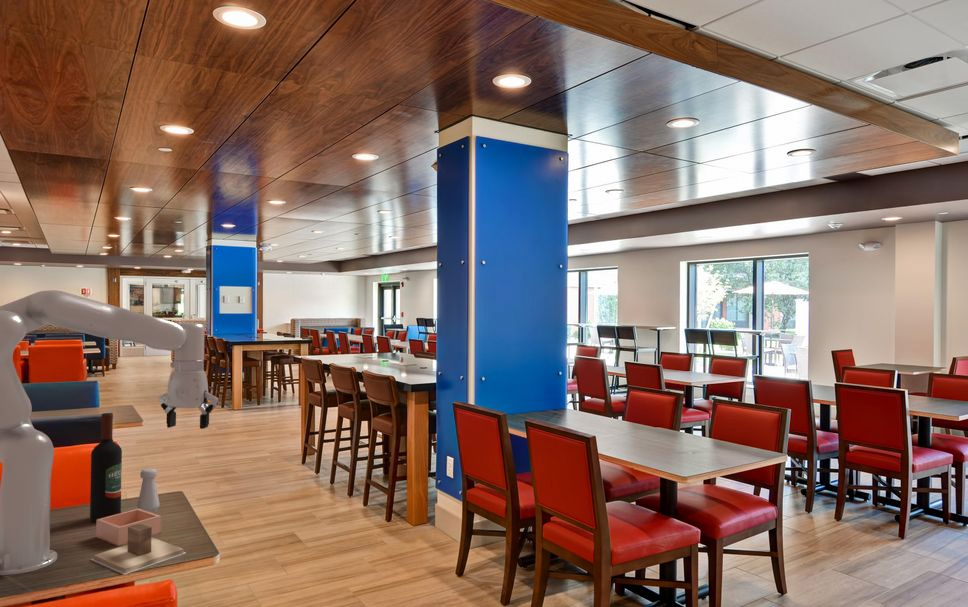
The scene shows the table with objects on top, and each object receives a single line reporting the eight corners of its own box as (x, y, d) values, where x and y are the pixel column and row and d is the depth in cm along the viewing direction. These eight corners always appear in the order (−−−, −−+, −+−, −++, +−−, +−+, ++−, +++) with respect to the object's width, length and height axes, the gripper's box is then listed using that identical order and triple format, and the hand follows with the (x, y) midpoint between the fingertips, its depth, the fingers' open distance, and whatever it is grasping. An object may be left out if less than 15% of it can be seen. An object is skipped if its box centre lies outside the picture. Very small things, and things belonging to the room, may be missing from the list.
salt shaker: (163, 510, 185) (164, 467, 185) (151, 517, 179) (152, 472, 179) (145, 509, 185) (145, 466, 185) (132, 516, 180) (133, 471, 180)
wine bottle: (101, 513, 182) (103, 411, 182) (126, 514, 181) (128, 411, 182) (83, 522, 174) (85, 415, 174) (109, 523, 174) (111, 416, 174)
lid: (125, 573, 140) (125, 542, 140) (93, 559, 148) (94, 529, 148) (183, 553, 152) (183, 524, 152) (151, 541, 160) (152, 513, 160)
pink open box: (118, 547, 156) (118, 527, 156) (96, 538, 162) (96, 519, 162) (160, 534, 165) (161, 515, 165) (138, 526, 171) (138, 508, 171)
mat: (124, 576, 140) (124, 574, 140) (90, 561, 148) (90, 559, 148) (186, 554, 152) (186, 552, 152) (152, 541, 160) (152, 540, 160)
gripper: (151, 367, 172) (150, 428, 171) (211, 368, 170) (209, 431, 170) (168, 364, 179) (166, 424, 179) (225, 366, 177) (223, 426, 177)
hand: (187, 427), depth 174 cm, fingers open, 9 cm apart
